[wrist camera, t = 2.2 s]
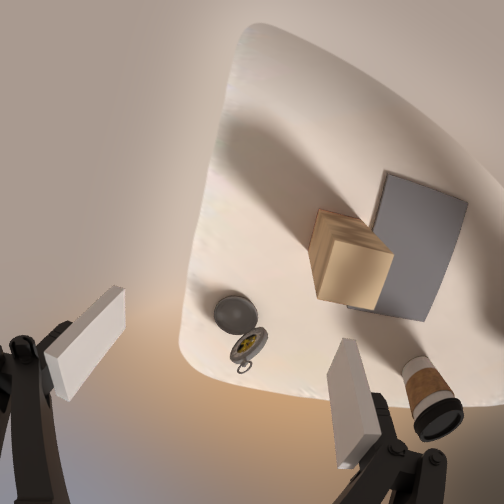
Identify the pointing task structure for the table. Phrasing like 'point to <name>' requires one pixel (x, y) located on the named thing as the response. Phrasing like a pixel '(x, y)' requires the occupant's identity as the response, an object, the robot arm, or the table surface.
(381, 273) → the oak block
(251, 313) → the pocket watch
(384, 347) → the table surface
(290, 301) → the table surface
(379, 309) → the rubber mat
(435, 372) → the coffee cup
